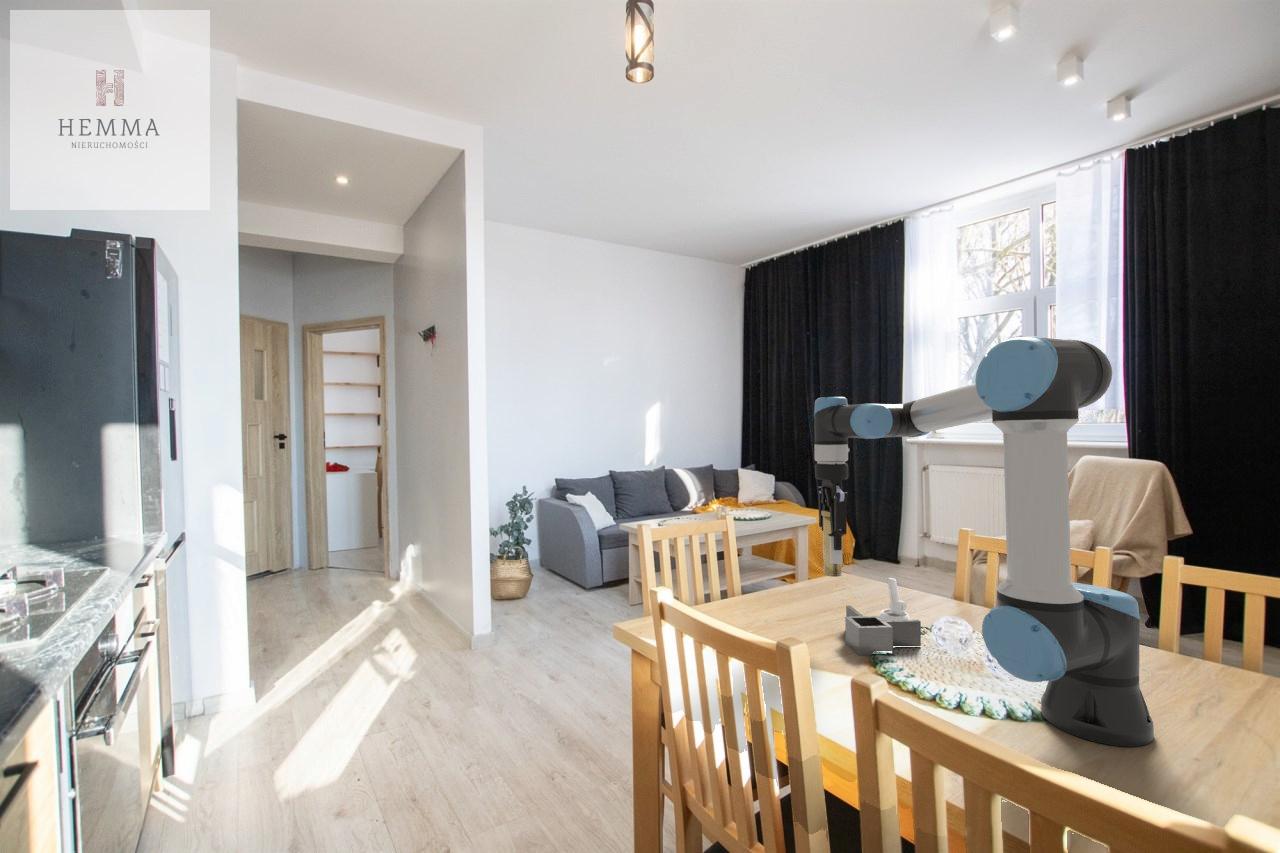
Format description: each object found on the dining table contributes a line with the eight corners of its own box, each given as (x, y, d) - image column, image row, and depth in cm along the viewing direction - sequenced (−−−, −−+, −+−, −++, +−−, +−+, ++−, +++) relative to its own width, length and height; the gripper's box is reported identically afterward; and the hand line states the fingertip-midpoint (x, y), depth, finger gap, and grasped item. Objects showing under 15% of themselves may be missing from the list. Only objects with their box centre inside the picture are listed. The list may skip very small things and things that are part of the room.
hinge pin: (846, 576, 139) (845, 512, 139) (826, 577, 139) (825, 512, 139) (838, 571, 144) (838, 509, 144) (819, 572, 144) (818, 509, 144)
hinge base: (928, 653, 132) (928, 626, 132) (858, 655, 131) (858, 628, 131) (895, 628, 147) (895, 604, 147) (833, 630, 147) (832, 605, 147)
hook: (892, 588, 164) (908, 579, 158) (901, 633, 157) (918, 625, 151) (868, 584, 162) (883, 575, 157) (876, 629, 155) (892, 621, 150)
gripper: (861, 464, 133) (863, 569, 133) (834, 459, 150) (835, 553, 150) (828, 465, 133) (829, 570, 133) (804, 460, 150) (805, 553, 150)
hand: (832, 560), depth 141 cm, fingers closed on hinge pin, 4 cm apart
